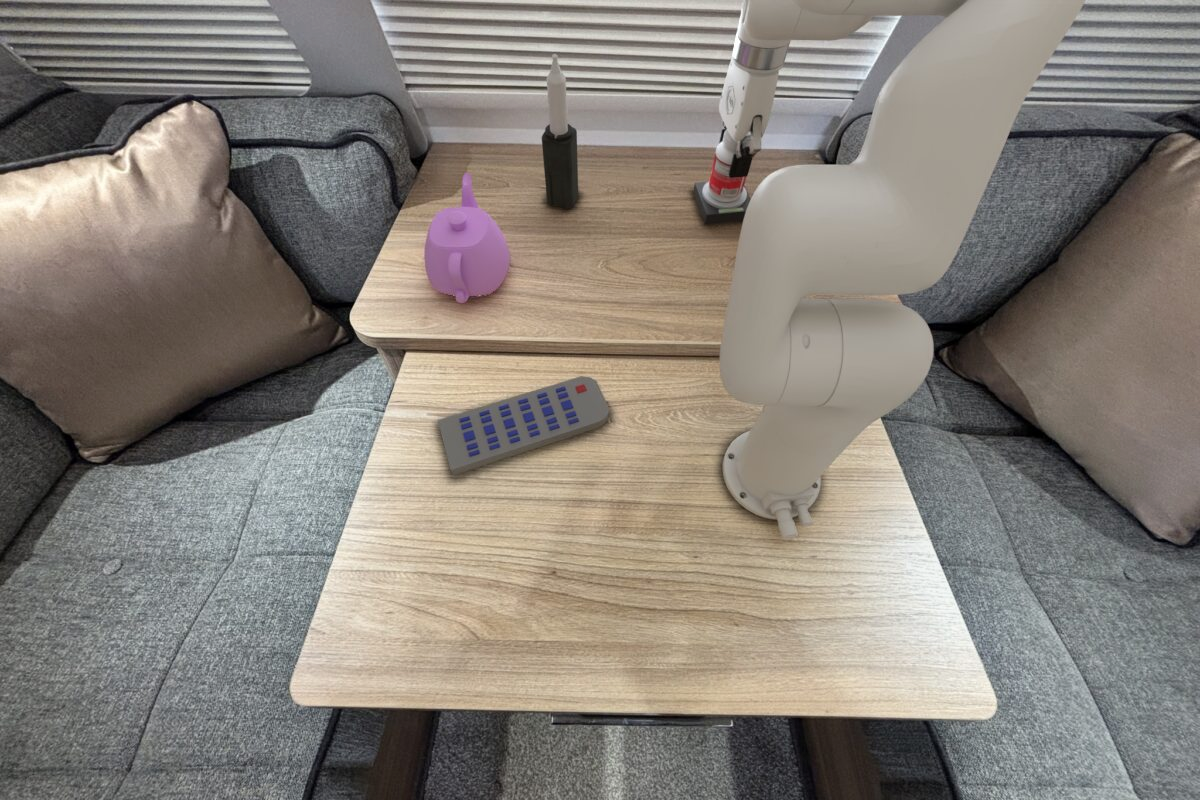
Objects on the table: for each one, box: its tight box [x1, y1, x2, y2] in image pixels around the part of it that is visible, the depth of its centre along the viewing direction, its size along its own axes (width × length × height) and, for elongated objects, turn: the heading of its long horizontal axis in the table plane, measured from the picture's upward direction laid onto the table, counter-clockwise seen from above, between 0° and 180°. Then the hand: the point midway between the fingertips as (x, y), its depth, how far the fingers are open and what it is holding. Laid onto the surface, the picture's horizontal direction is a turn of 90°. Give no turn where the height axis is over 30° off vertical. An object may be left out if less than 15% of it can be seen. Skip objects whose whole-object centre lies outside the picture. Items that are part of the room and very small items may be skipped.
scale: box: [692, 181, 751, 226], centre depth 97 cm, size 9×9×3 cm
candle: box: [541, 53, 579, 210], centre depth 88 cm, size 5×5×25 cm
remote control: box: [437, 375, 611, 476], centre depth 73 cm, size 8×23×2 cm, turn 111°
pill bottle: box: [708, 129, 751, 202], centre depth 91 cm, size 6×6×11 cm
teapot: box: [423, 172, 511, 304], centre depth 84 cm, size 20×13×12 cm, turn 1°
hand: (732, 162), depth 91 cm, fingers closed on pill bottle, 6 cm apart
